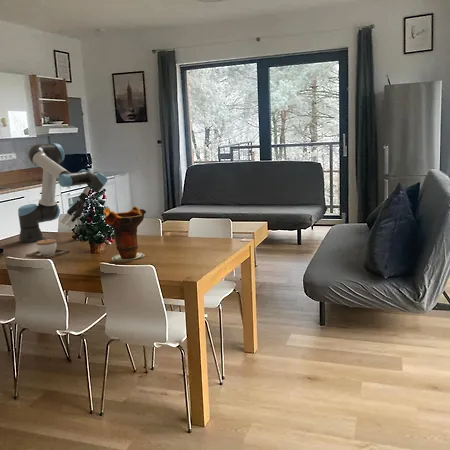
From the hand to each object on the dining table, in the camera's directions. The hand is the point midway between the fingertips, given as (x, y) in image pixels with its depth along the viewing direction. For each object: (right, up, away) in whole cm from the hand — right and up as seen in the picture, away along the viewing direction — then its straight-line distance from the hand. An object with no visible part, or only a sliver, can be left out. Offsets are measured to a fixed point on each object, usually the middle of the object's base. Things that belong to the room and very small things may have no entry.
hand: (64, 224), depth 288 cm
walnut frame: (-9, -17, -3) cm, 20 cm away
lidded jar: (-9, -17, -2) cm, 20 cm away
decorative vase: (+41, -18, -19) cm, 48 cm away
